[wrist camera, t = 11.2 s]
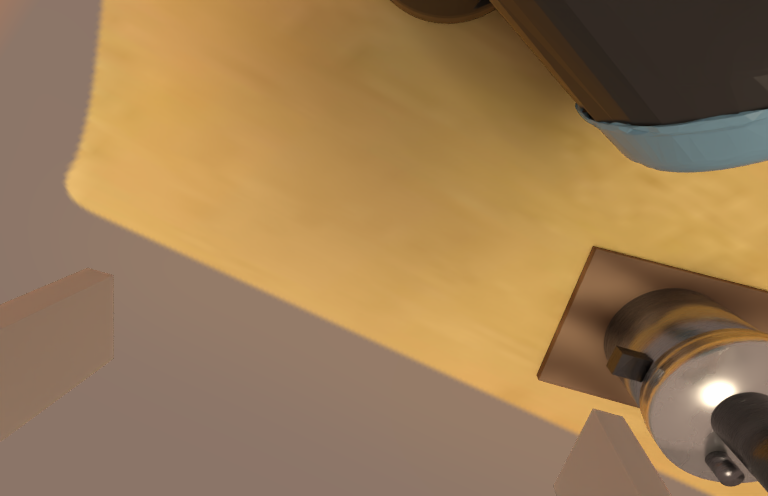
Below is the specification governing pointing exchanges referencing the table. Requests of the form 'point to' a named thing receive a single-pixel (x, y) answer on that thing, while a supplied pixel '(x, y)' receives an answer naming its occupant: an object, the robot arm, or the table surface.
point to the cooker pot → (662, 333)
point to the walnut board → (607, 296)
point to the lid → (714, 408)
